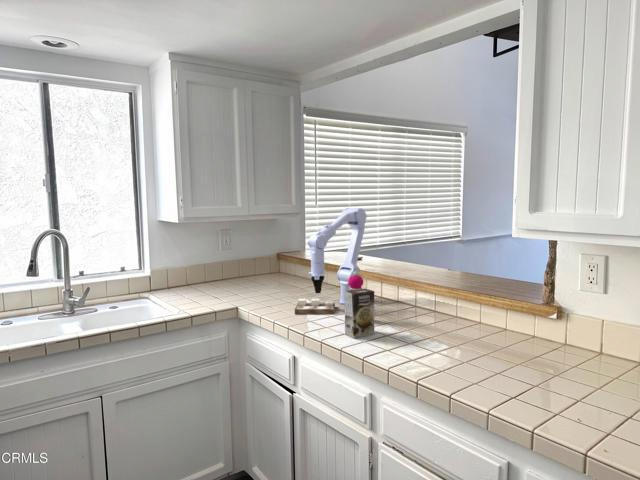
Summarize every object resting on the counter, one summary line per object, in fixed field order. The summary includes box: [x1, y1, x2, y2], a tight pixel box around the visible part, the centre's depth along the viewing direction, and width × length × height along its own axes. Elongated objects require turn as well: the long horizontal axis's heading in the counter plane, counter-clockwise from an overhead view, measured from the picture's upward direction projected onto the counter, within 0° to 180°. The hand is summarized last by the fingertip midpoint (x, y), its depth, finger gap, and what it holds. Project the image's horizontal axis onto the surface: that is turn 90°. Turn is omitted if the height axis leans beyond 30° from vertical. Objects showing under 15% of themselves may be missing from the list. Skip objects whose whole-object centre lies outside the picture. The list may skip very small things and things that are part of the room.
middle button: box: [311, 298, 320, 306], centre depth 196 cm, size 3×3×3 cm
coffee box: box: [344, 288, 375, 339], centre depth 161 cm, size 9×6×16 cm
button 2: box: [324, 301, 334, 306], centre depth 196 cm, size 3×3×3 cm
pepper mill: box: [348, 272, 364, 290], centre depth 178 cm, size 7×7×20 cm
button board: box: [294, 302, 336, 315], centre depth 195 cm, size 17×12×2 cm
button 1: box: [297, 298, 307, 306], centre depth 197 cm, size 3×3×3 cm
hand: (318, 292), depth 196 cm, fingers closed
